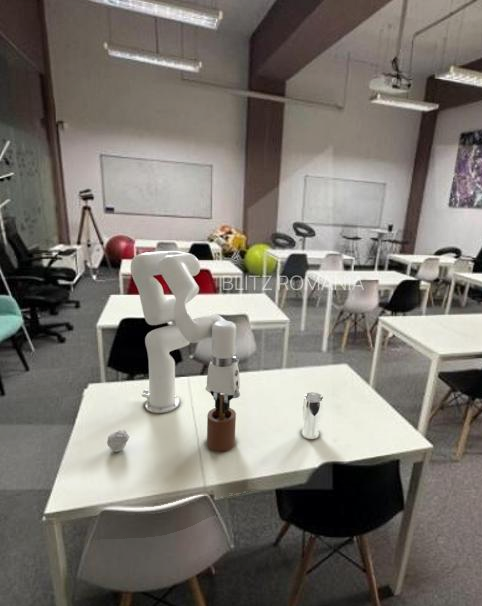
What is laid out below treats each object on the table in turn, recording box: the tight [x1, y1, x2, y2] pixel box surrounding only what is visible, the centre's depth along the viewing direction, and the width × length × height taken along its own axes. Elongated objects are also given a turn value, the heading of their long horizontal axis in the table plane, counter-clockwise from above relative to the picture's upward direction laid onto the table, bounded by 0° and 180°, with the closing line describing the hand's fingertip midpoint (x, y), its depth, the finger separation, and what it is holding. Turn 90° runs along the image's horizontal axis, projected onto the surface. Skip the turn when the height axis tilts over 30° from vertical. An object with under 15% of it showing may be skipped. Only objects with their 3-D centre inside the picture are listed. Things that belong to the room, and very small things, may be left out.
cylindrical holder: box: [206, 407, 237, 453], centre depth 127 cm, size 9×9×11 cm
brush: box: [216, 393, 228, 420], centre depth 126 cm, size 4×4×14 cm
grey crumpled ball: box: [106, 429, 130, 453], centre depth 121 cm, size 6×7×7 cm
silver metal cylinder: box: [301, 392, 324, 440], centre depth 135 cm, size 7×7×15 cm
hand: (222, 410), depth 126 cm, fingers closed on brush
